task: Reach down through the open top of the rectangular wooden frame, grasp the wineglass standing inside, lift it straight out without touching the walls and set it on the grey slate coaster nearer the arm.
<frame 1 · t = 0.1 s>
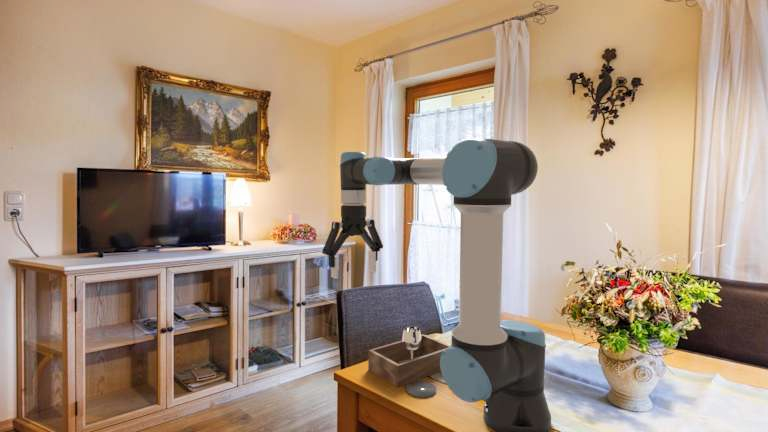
hand: (354, 274, 131), 28 cm above the table, fingers open, 13 cm apart
rectangular wooden frame: (411, 368, 130), on the table
wineglass: (411, 368, 130), resting in rectangular wooden frame
coaster: (421, 390, 117), on the table
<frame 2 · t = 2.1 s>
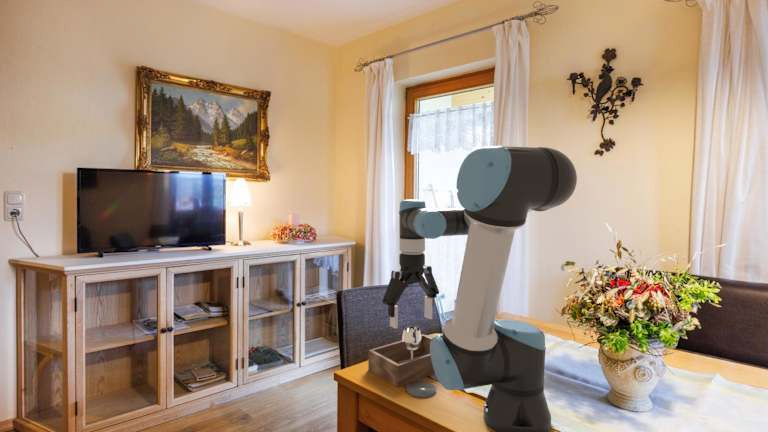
hand: (411, 322, 129), 14 cm above the table, fingers open, 13 cm apart
nothing on the table moved.
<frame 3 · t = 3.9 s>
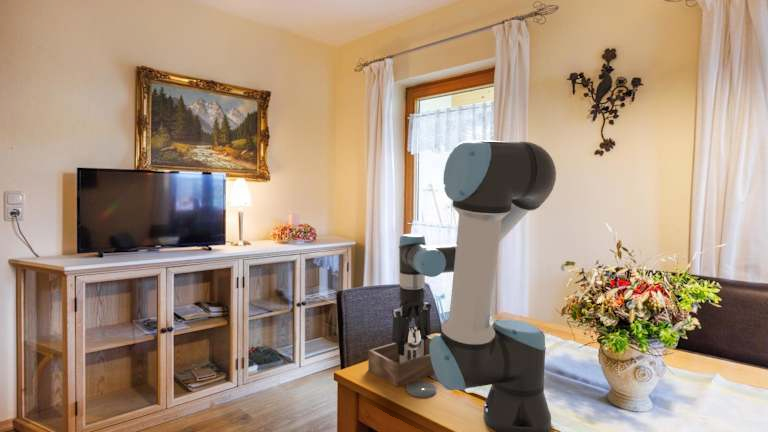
hand: (411, 362, 130), 2 cm above the table, fingers closed on wineglass, 6 cm apart
wineglass: (411, 368, 130), resting in rectangular wooden frame, touching gripper
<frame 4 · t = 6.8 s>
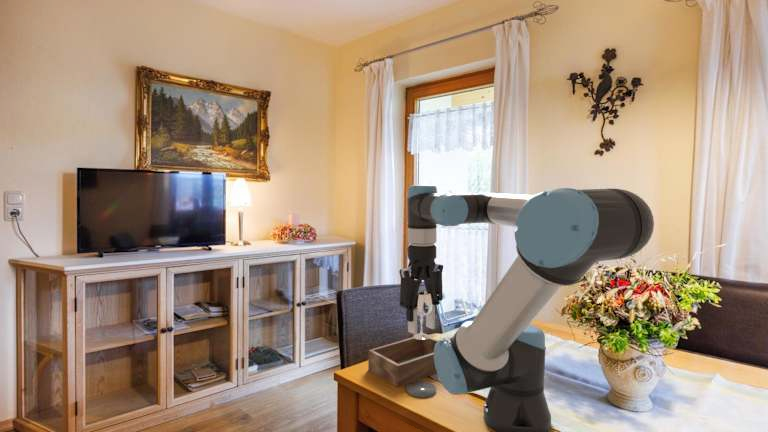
hand: (421, 330, 115), 17 cm above the table, fingers closed on wineglass, 6 cm apart
wineglass: (421, 337, 115), point 15 cm above the table, touching gripper
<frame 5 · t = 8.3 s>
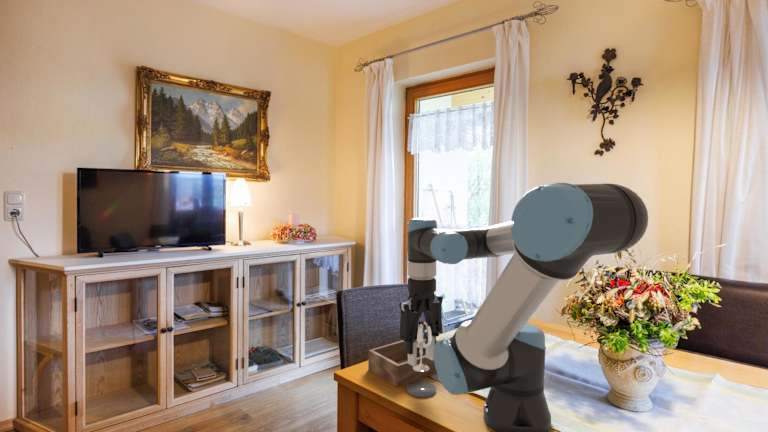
hand: (421, 361, 116), 8 cm above the table, fingers closed on wineglass, 6 cm apart
wineglass: (421, 368, 116), point 6 cm above the table, touching gripper
when the fingers open (3 cm above the table, at t = 9.5 s): wineglass stays where it is, resting on coaster.
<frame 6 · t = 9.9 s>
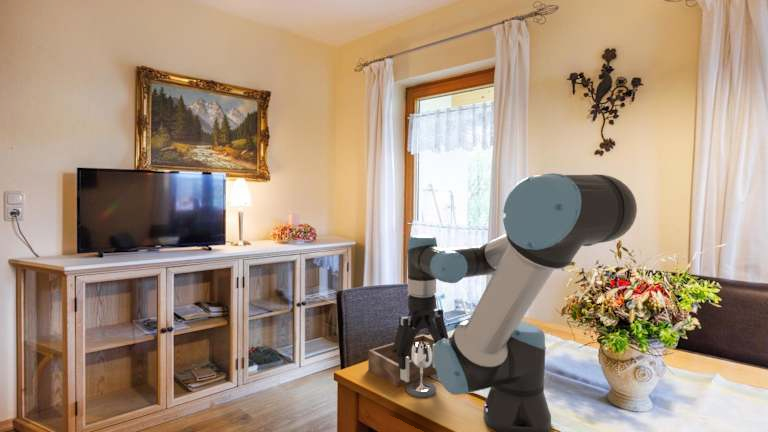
hand: (421, 374, 116), 4 cm above the table, fingers open, 11 cm apart
wineglass: (421, 388, 117), resting on coaster
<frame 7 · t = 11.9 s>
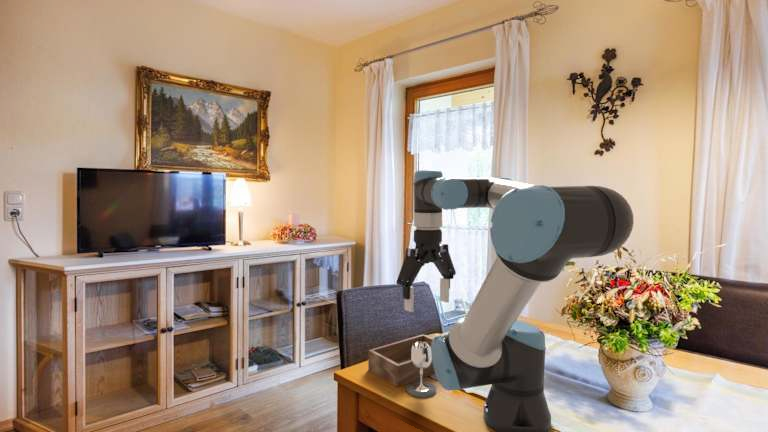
hand: (427, 305, 118), 22 cm above the table, fingers open, 13 cm apart
nothing on the table moved.
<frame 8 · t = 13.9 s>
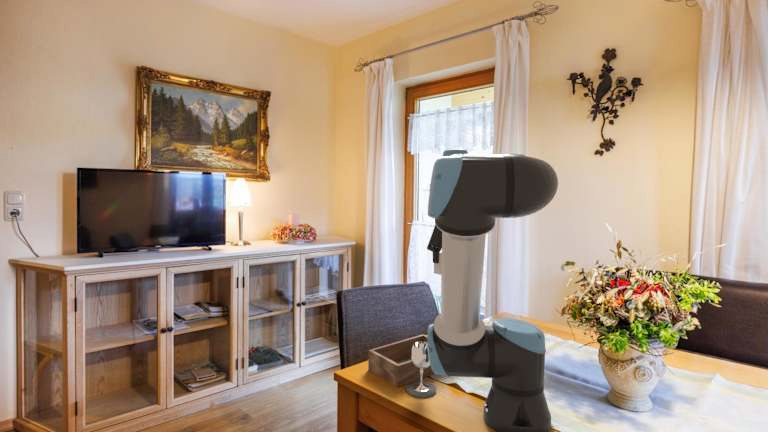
hand: (454, 270, 132), 29 cm above the table, fingers open, 13 cm apart
nothing on the table moved.
at the end: wineglass inside the target area on the coaster (0.1 cm from its centre), point 0.4 cm above the coaster's base; wineglass tilted 1°; the gripper is holding nothing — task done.
